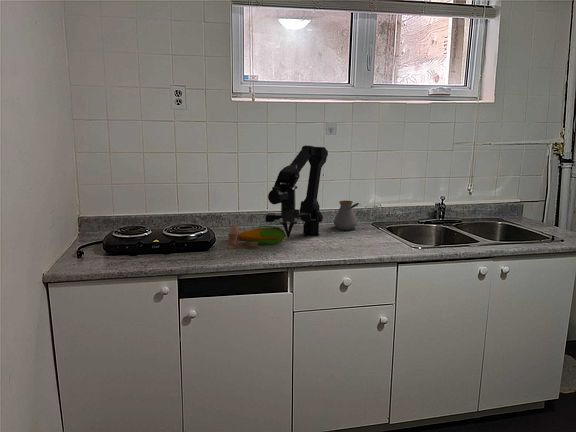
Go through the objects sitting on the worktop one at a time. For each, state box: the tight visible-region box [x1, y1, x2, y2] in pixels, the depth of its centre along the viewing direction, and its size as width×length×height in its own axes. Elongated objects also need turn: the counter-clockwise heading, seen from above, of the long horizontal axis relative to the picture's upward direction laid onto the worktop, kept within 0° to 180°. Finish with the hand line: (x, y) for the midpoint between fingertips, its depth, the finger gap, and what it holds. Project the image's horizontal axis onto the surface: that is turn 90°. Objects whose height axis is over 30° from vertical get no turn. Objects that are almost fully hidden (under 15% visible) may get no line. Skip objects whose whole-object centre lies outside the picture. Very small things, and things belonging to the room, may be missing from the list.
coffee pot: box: [333, 200, 361, 231], centre depth 225 cm, size 21×12×15 cm, turn 13°
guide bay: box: [227, 225, 260, 250], centre depth 202 cm, size 12×15×6 cm
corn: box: [238, 225, 287, 246], centre depth 203 cm, size 7×8×20 cm
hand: (288, 237), depth 203 cm, fingers closed
